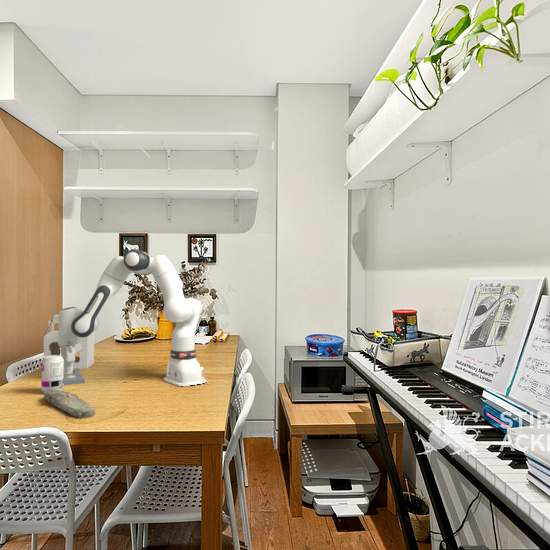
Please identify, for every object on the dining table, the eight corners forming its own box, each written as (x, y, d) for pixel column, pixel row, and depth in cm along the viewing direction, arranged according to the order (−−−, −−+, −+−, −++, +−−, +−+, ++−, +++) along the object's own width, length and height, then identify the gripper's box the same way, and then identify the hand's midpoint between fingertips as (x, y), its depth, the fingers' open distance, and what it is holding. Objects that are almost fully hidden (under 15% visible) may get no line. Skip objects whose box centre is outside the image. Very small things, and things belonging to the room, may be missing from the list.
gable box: (42, 369, 221) (43, 315, 221) (52, 364, 234) (52, 313, 234) (87, 368, 224) (88, 315, 224) (94, 363, 237) (95, 313, 237)
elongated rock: (74, 426, 146) (102, 420, 154) (75, 410, 146) (103, 405, 154) (36, 399, 170) (62, 395, 177) (38, 385, 170) (63, 382, 177)
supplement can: (39, 395, 176) (39, 359, 176) (44, 389, 184) (44, 355, 184) (60, 393, 178) (61, 358, 178) (64, 388, 186) (65, 354, 186)
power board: (84, 382, 196) (84, 377, 196) (60, 385, 191) (60, 380, 191) (76, 372, 215) (76, 368, 215) (54, 375, 209) (54, 370, 209)
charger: (72, 375, 206) (72, 359, 206) (63, 376, 204) (63, 360, 204) (71, 373, 210) (71, 358, 210) (62, 374, 207) (62, 359, 207)
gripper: (78, 343, 200) (78, 372, 200) (72, 337, 217) (71, 364, 217) (63, 344, 196) (63, 373, 196) (58, 338, 213) (58, 365, 214)
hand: (67, 368), depth 207 cm, fingers closed on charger, 4 cm apart
